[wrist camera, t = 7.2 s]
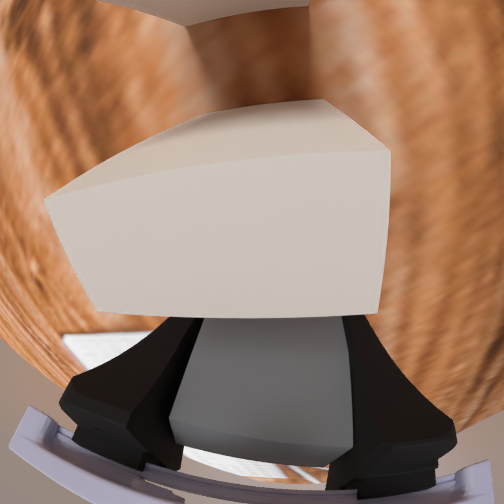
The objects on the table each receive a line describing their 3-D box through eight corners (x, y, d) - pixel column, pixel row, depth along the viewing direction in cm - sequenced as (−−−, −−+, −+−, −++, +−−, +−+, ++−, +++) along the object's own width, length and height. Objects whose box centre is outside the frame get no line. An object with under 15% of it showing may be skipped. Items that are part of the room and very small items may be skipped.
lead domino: (323, 296, 15) (323, 467, 8) (229, 277, 15) (175, 443, 8) (337, 259, 14) (353, 446, 6) (234, 238, 14) (169, 417, 7)
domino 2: (328, 155, 11) (377, 313, 4) (212, 166, 13) (96, 311, 5) (323, 98, 10) (391, 150, 3) (202, 114, 11) (43, 200, 4)
